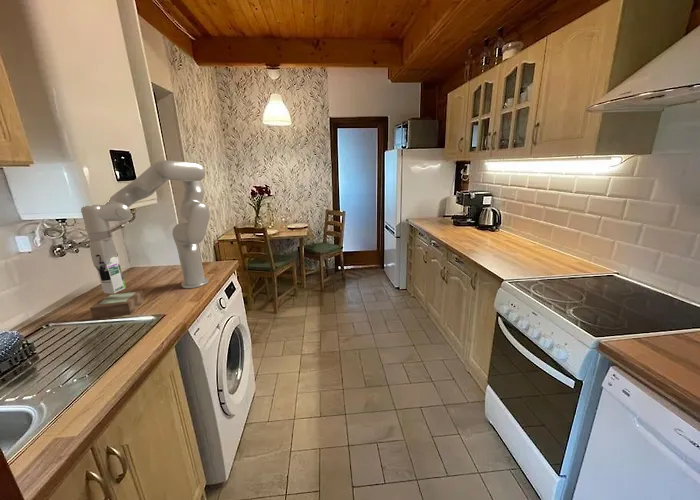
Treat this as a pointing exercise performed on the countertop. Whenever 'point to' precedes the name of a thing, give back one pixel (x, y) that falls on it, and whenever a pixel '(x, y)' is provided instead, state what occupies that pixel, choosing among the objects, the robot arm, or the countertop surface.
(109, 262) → the robot arm
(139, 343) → the countertop surface
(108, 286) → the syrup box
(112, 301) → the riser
